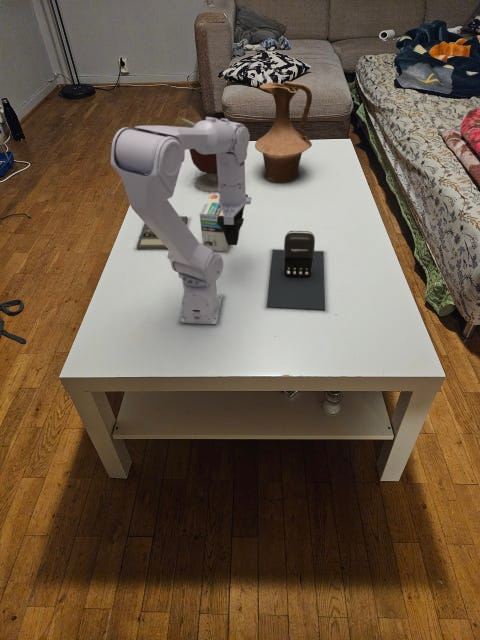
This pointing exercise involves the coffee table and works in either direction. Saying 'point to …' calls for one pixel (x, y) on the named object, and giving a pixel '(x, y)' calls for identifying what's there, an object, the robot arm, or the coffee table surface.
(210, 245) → the light bulb box
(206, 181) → the mate gourd
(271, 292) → the mat
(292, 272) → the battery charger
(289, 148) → the pitcher
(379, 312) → the coffee table surface
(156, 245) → the calculator
